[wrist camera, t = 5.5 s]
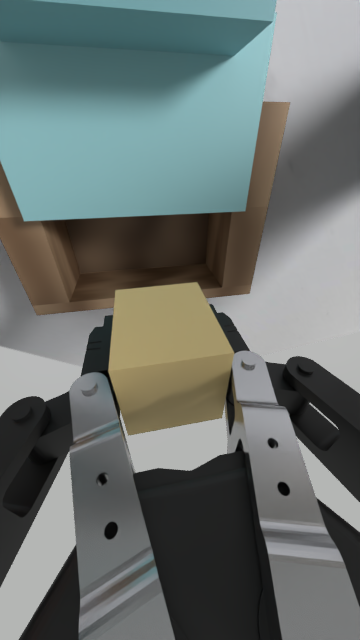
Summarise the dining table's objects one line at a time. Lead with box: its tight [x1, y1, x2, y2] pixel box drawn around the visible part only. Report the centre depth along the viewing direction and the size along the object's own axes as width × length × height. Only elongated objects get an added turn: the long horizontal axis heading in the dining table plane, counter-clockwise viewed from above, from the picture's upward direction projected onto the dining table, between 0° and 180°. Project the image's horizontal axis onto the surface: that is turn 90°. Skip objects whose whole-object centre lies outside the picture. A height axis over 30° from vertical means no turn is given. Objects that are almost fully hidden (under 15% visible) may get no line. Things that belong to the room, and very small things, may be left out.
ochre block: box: [108, 282, 234, 435], centre depth 10 cm, size 4×4×5 cm
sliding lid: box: [0, 0, 277, 221], centre depth 12 cm, size 15×9×5 cm, turn 91°
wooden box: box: [0, 102, 290, 315], centre depth 19 cm, size 20×14×6 cm
